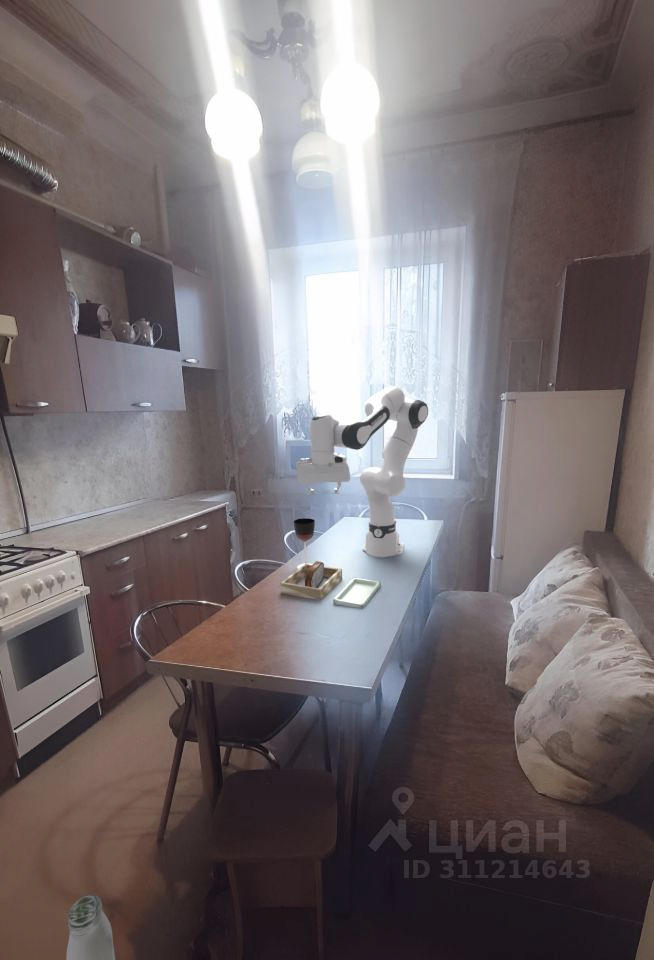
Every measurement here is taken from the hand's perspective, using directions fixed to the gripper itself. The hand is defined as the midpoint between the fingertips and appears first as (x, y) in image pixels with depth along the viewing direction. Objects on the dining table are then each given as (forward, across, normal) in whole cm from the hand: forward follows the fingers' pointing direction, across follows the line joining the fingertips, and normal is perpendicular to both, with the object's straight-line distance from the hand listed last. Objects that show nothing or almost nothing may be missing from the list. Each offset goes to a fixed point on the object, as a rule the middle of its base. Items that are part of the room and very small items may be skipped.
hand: (324, 493), depth 166 cm
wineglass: (+34, -9, +11) cm, 37 cm away
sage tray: (+34, +11, -18) cm, 40 cm away
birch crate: (+34, -5, -8) cm, 35 cm away
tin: (+34, -4, -8) cm, 35 cm away
